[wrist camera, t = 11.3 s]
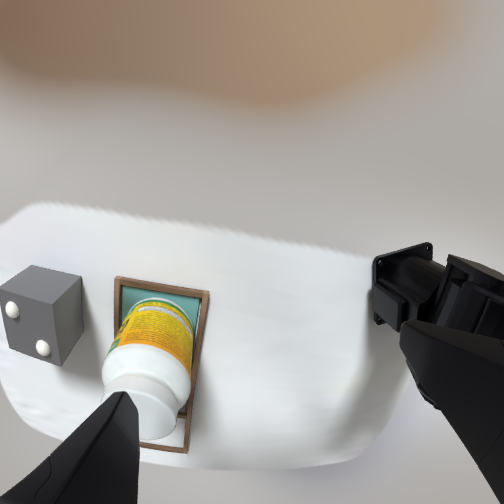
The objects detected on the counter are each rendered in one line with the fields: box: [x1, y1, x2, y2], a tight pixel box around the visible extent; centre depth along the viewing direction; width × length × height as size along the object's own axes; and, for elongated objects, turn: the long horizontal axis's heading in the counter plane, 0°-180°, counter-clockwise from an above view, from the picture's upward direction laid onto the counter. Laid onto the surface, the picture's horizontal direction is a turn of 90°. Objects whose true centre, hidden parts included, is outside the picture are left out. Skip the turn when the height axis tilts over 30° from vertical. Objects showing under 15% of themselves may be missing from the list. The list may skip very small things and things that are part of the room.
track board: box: [114, 276, 209, 454], centre depth 22 cm, size 20×7×1 cm, turn 169°
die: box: [0, 265, 84, 366], centre depth 17 cm, size 5×5×6 cm
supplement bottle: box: [101, 297, 193, 440], centre depth 16 cm, size 5×5×10 cm
